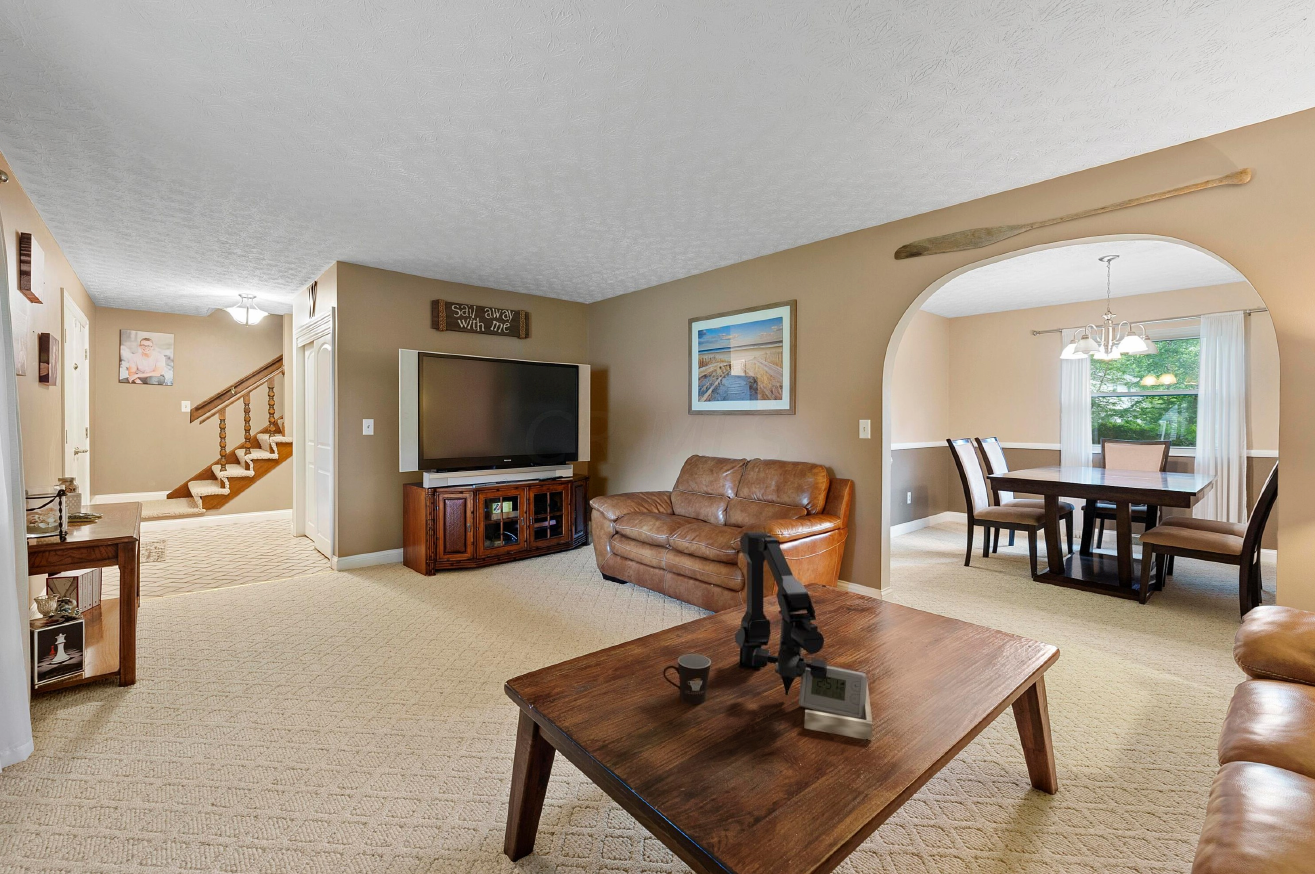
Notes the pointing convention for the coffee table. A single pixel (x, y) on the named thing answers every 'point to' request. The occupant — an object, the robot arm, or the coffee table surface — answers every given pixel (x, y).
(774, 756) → the coffee table surface
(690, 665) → the coffee mug
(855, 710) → the digital clock
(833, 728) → the bay
